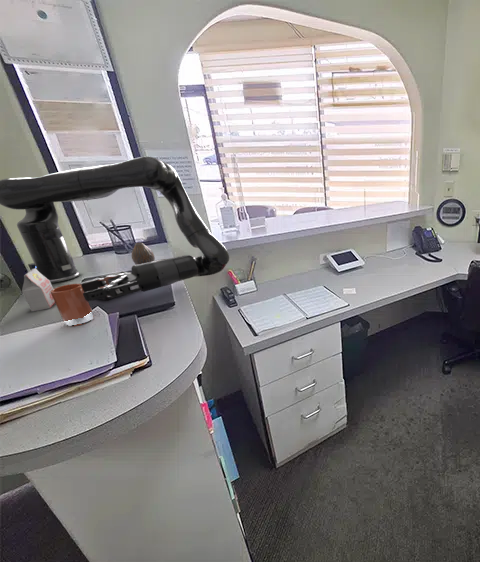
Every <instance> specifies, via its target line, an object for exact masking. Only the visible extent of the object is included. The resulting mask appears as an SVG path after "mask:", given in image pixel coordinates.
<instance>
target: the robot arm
mask: <svg viewBox="0 0 480 562" xmlns="http://www.w3.org/2000/svg"><path fill="white" fill-rule="evenodd" d="M127 188H147V189H151V190H155V191H157V192H159V193H160V194H161V195H162V196H163V197H164V198H165V199H166V200H167V202H168V203H169V204H170V206H171V208H172V211H173V214H174V219H175V222H176V224H177V227H178V228H179V230H180V232H181V234H182V235H183V236H184V238H185V240H187V242H188V243H189V244H190V246H192V247H193V248H195V249H199V251H201V253H202V255H200V256H192V255H189V254H183V255H179V256H175V257H170V258H162V259H157V260H154V261H152V262H147V263H142V264H138V265H136V264H134V265H132V266H131V272H130V273H131V274H125V272H126V271H124V270H120V271H118V273H117V272H114V273H109V274H104V275H99V276H97V277H96V278H97V279H96V278H94V279H95V280H96V281H95V280H94V281H89V280H88V281H89V282H86V281H84V282H85V283H82V282H80V283H81V285H82V288H83V290H84V293H83V295H84V298H85V300H86V301H88V302H90V301H95V300H100V299H99V298H102V297H106V296H107V297H112V299H116V298H119V297H122V296H125V295H130V294H133V293H136V292H140V291H141V292H144V293H145V292H148V291H152V290H155V289H159V288H162V287H166V286H170V285H173V284H175V283H178V282H181V281H185V280H188V279H192V278H195V277H196V278H197V277H207V276H212V275H215V274H218V273H220V272H222V271H223V270H224V269H225V268H226V266H227V265H228V263H229V261H230V254H229V251H228V249H227V248H226V246H225V245H224V244H223V243H222V242H221V241H220V240H219V239H218V238H217V237H216V236H215V235H214V234H212V233H211V231H210V229H209V228H208V226H207V225H206V223H205V221H203V219H202V218H201V216H200V215H199V213H198V212H197V210H196V207H194V205H193V203H192V202H191V199H190V198H189V196H188V193H187V191H186V189H185V187H184V185H183V183H182V181H181V178H180V176H179V174H178V172H177V170H176V169H175V168H174V167H173V165H170V164H169V163H167V162H165V161H163V160H160V159H158V158H156V157H153V156H139V157H135V158H131V159H128V160H124V161H121V162H117V163H113V164H104V165H102V164H101V165H96V166H88V167H87V166H86V167H81V168H79V167H78V168H74V169H69V170H68V169H67V170H63V171H58V172H54V173H49V174H46V175H42V176H38V177H11V178H4V179H0V205H1V206H3V207H4V208H6V209H9V210H10V209H11V210H18V211H21V210H23V211H25V215H24V216H23V218H22V219H20V220H19V221H18V222H17V223H16V227H17V230H18V231H19V233H20V236H21V238H22V240H23V242H24V244H25V246H26V249H27V251H28V253H29V255H30V257H31V259H32V263H28V264H27V266H28V268H29V270H30V271H31V270H32V269H35V268H36V269H37V270H38V271H39V272H40V273H41V274H42V275H43V276H45V277H46V278H47V279H48V280H50V282H51V284H54V283H61V282H66V281H69V280H73V279H75V278H77V277H79V276H80V273H79V271H78V269H77V266H76V263H75V261H74V259H73V256H72V255H71V251H70V249H69V246H68V244H67V242H66V240H65V237H64V234H63V232H62V230H61V228H60V225H59V214H58V211H57V208H56V204H55V203H66V202H81V201H82V202H83V201H92V200H98V199H99V200H100V199H103V198H107V197H110V196H112V195H113V194H115V193H116V192H117V191H119V190H122V189H127ZM105 281H106V282H105ZM103 288H104V289H103Z"/></svg>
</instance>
